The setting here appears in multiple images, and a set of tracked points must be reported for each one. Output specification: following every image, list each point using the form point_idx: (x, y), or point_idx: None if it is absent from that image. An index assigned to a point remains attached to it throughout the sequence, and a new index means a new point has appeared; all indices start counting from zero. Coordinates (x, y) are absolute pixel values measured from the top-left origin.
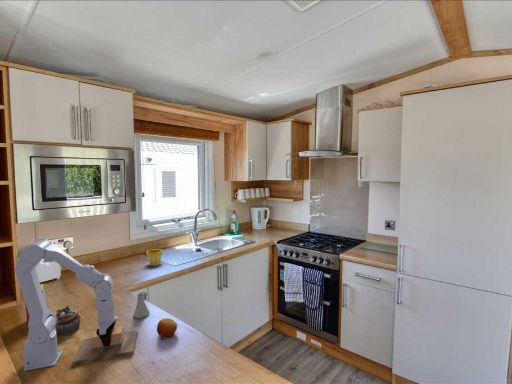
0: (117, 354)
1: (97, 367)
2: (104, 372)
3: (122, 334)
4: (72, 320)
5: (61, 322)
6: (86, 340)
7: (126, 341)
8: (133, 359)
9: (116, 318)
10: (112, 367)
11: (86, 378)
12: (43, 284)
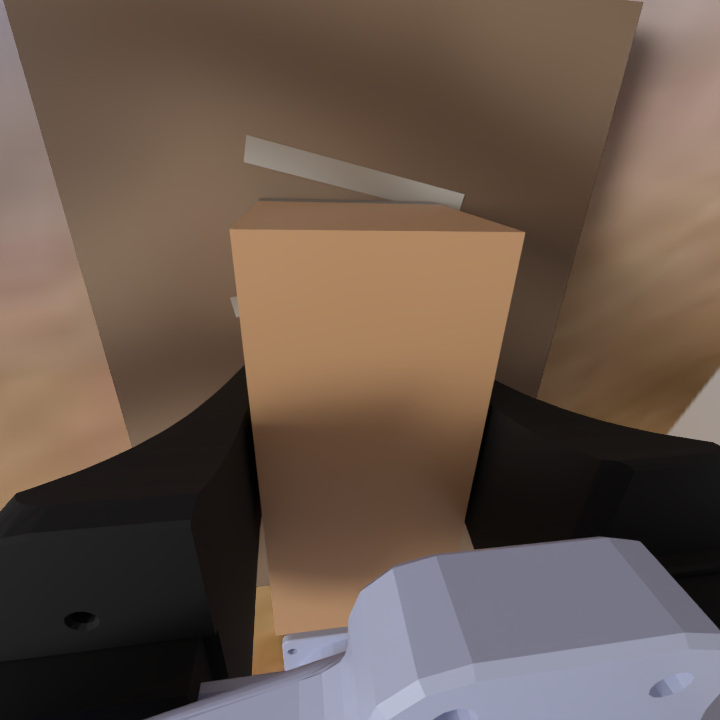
0: (576, 231)
1: (593, 376)
2: (695, 307)
3: (354, 213)
4: None
5: None
6: None
7: (346, 145)
8: (694, 11)
9: (629, 673)
10: (675, 251)
11: (673, 414)
12: None
